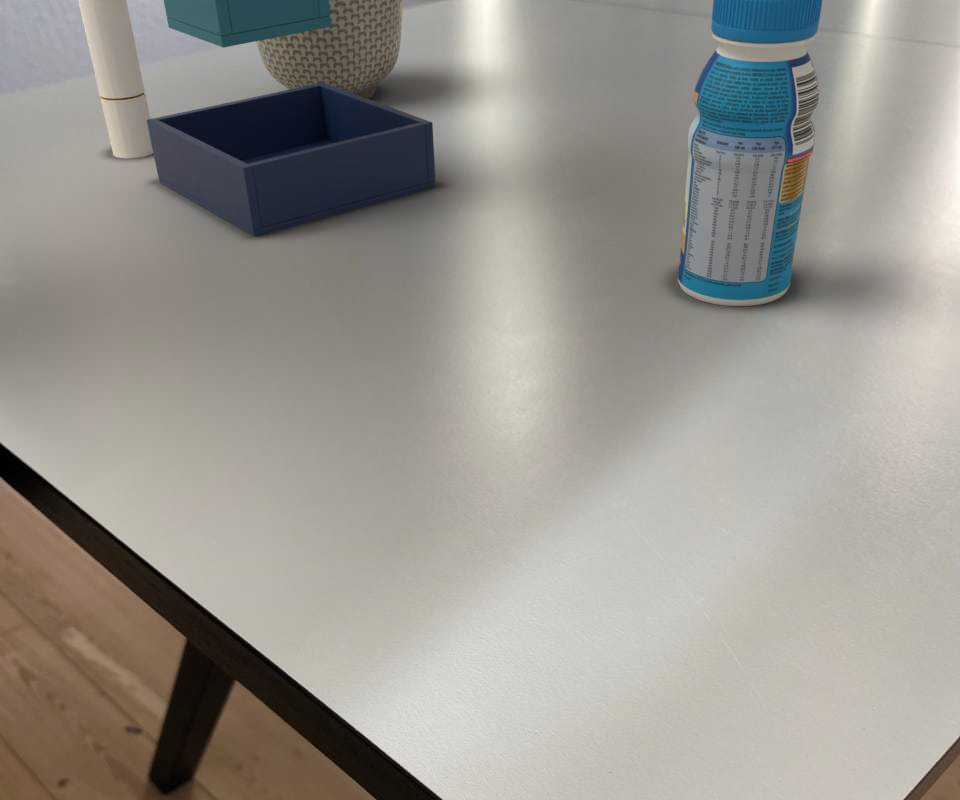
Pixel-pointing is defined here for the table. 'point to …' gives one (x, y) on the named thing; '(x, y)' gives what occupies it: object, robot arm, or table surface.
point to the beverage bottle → (749, 152)
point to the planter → (340, 48)
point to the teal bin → (245, 19)
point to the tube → (118, 76)
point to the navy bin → (292, 156)
